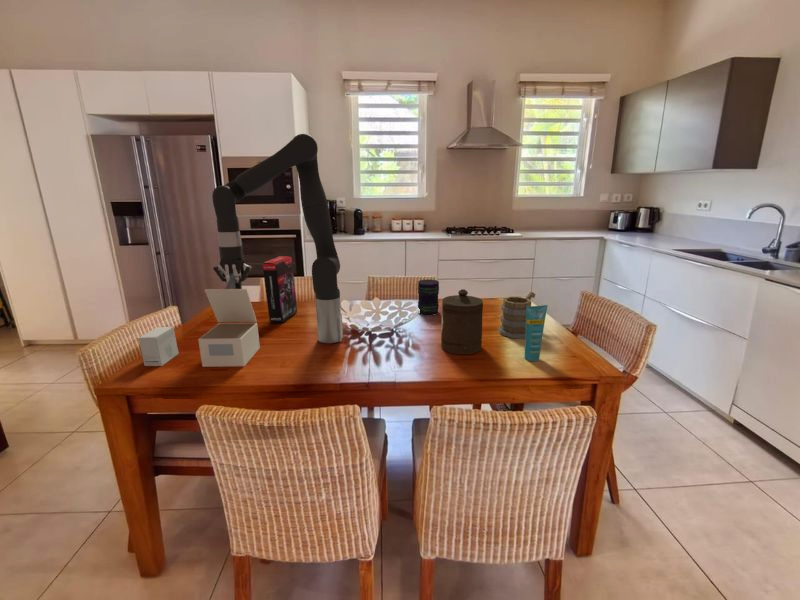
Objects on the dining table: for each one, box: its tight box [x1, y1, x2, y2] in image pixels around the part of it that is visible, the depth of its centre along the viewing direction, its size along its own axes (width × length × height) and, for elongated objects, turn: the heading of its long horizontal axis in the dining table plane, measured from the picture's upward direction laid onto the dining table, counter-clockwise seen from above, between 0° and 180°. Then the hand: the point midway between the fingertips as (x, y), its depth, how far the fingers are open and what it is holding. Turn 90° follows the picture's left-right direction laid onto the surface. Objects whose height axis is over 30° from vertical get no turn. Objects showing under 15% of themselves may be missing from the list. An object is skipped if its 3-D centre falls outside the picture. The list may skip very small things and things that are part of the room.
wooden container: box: [440, 288, 484, 356], centre depth 147 cm, size 15×15×22 cm
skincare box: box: [137, 326, 180, 367], centre depth 139 cm, size 10×6×10 cm, turn 178°
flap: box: [204, 273, 257, 323], centre depth 146 cm, size 14×15×11 cm
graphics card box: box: [262, 255, 298, 324], centre depth 181 cm, size 17×7×27 cm, turn 172°
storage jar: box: [417, 279, 440, 316], centre depth 189 cm, size 10×10×15 cm
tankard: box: [497, 291, 536, 339], centre depth 164 cm, size 20×13×15 cm, turn 131°
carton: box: [198, 322, 261, 368], centre depth 141 cm, size 14×16×10 cm
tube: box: [523, 304, 548, 362], centre depth 137 cm, size 7×5×19 cm, turn 103°
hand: (235, 292), depth 146 cm, fingers closed on flap
